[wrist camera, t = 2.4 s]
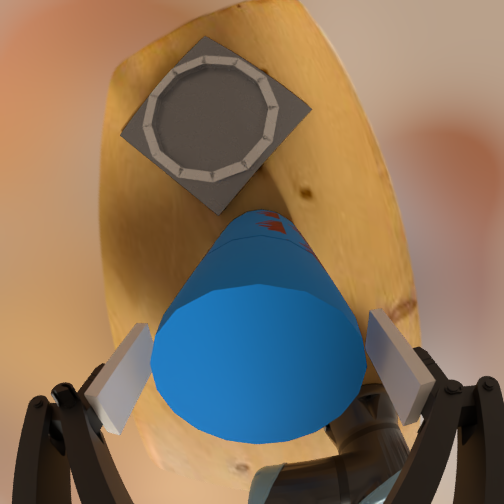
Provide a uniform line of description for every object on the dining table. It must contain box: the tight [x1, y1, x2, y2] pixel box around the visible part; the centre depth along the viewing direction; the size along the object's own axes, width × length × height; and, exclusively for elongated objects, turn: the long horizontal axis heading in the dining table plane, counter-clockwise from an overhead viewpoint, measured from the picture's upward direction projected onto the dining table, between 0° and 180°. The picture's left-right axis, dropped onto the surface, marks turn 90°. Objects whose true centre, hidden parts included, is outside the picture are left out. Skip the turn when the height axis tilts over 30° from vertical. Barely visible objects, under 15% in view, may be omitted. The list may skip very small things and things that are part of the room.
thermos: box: [150, 209, 367, 444], centre depth 24 cm, size 11×11×25 cm
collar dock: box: [120, 36, 312, 216], centre depth 30 cm, size 18×18×2 cm
